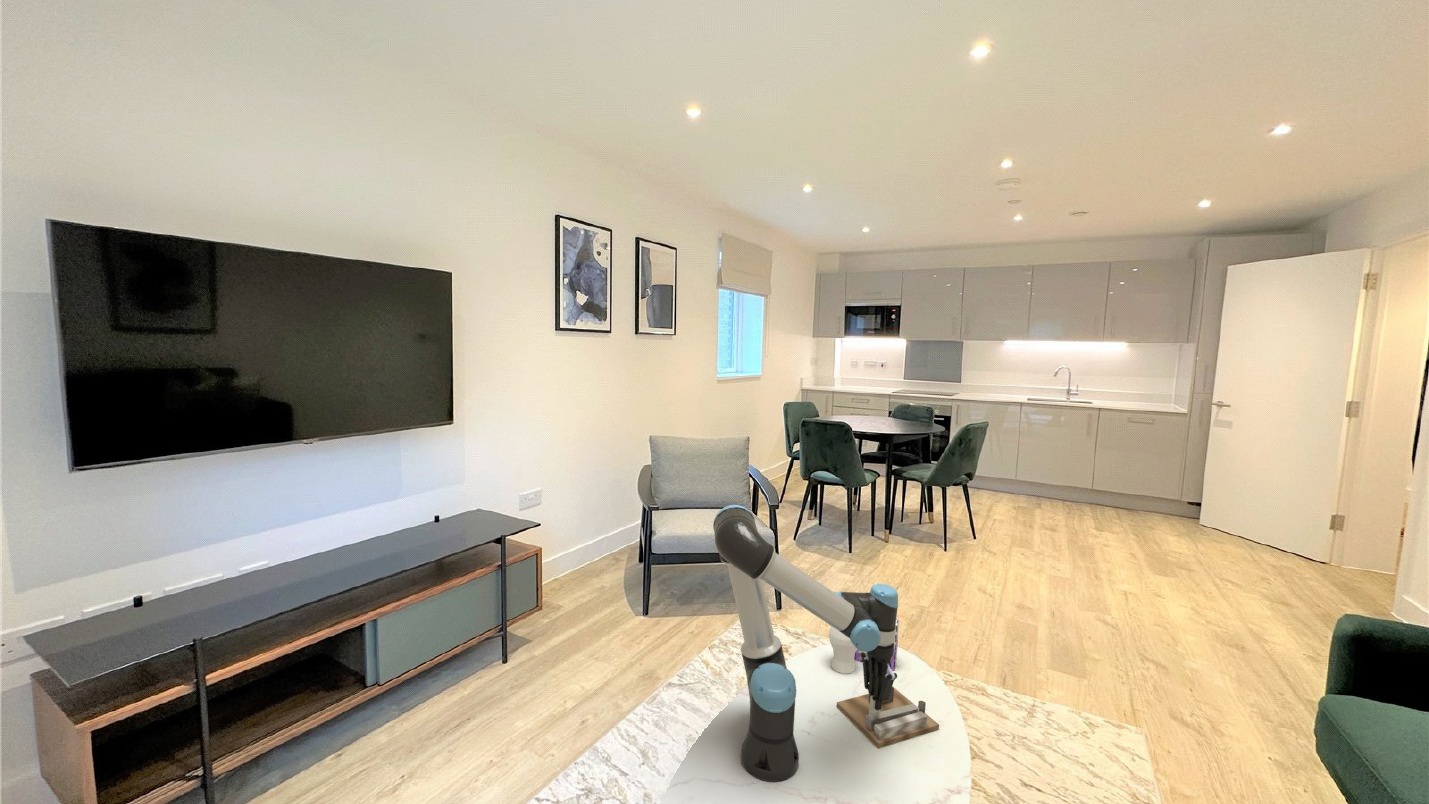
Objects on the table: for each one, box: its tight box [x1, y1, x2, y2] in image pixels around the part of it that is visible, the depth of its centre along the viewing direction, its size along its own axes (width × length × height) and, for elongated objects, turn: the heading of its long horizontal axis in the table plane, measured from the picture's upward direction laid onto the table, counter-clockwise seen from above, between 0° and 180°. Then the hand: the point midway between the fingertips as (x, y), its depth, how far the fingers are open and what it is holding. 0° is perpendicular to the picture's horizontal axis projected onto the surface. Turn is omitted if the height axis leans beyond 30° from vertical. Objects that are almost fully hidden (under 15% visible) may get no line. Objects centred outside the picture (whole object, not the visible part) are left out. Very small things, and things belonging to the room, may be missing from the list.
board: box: [836, 687, 940, 750], centre depth 164 cm, size 22×19×6 cm
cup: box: [828, 625, 857, 675], centre depth 189 cm, size 11×11×15 cm
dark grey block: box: [882, 686, 895, 704], centre depth 170 cm, size 5×4×4 cm
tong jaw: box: [865, 703, 919, 731], centre depth 160 cm, size 17×2×3 cm, turn 111°
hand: (873, 717), depth 160 cm, fingers closed
